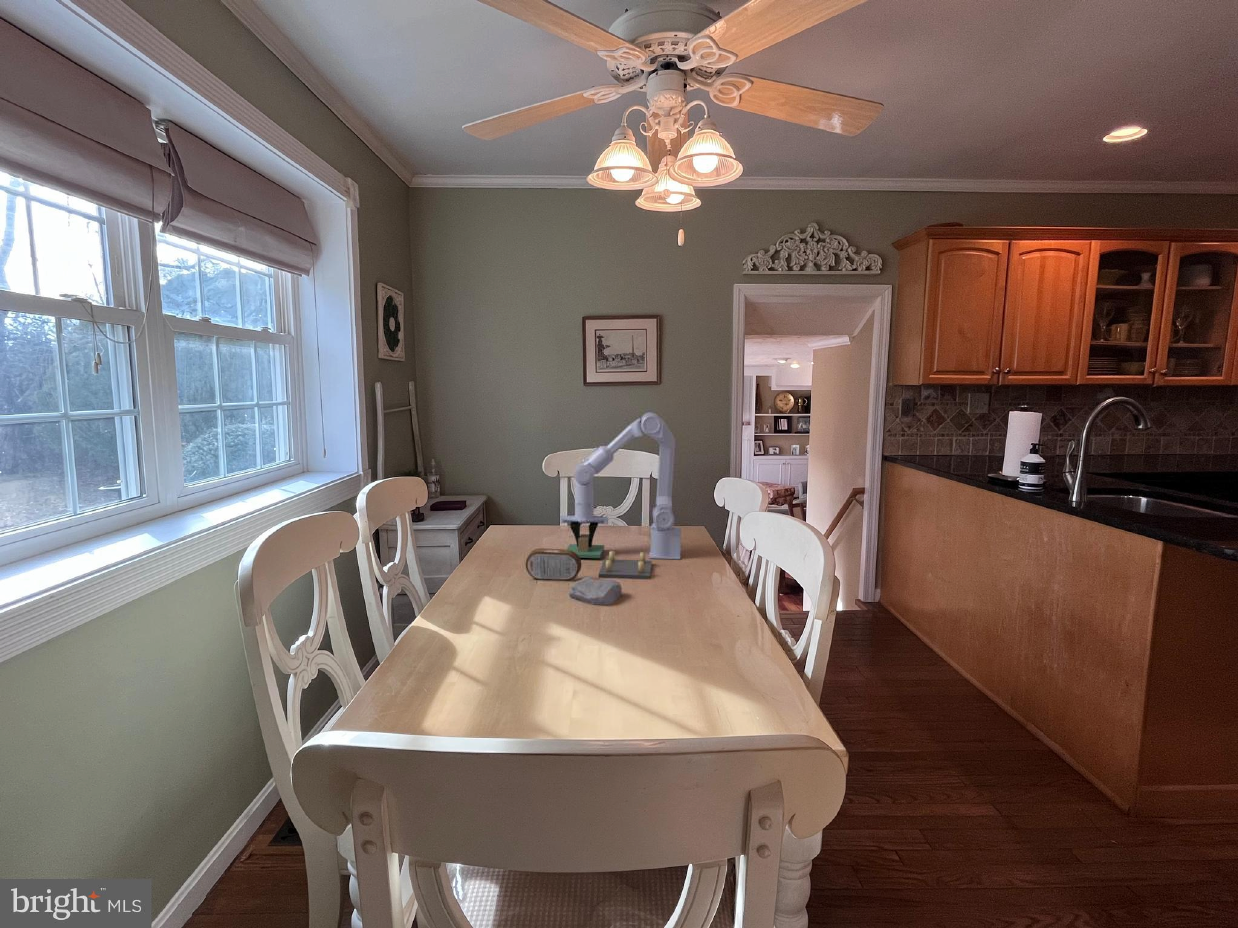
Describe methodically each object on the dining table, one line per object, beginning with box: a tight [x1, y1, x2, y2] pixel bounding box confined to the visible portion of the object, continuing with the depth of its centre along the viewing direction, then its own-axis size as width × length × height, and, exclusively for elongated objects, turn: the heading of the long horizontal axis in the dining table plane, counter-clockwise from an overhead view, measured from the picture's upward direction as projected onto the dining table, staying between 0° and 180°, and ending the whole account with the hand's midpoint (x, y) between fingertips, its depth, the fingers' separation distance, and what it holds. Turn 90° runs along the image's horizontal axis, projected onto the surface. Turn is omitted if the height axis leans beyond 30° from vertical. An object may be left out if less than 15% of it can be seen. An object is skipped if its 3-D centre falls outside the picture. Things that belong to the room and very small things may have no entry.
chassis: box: [598, 550, 653, 580], centre depth 174 cm, size 14×14×4 cm
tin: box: [525, 547, 582, 582], centre depth 165 cm, size 15×3×8 cm, turn 84°
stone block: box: [568, 576, 623, 606], centre depth 152 cm, size 12×5×10 cm
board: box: [566, 533, 605, 559], centre depth 188 cm, size 11×11×5 cm
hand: (584, 546), depth 188 cm, fingers closed on board, 3 cm apart
